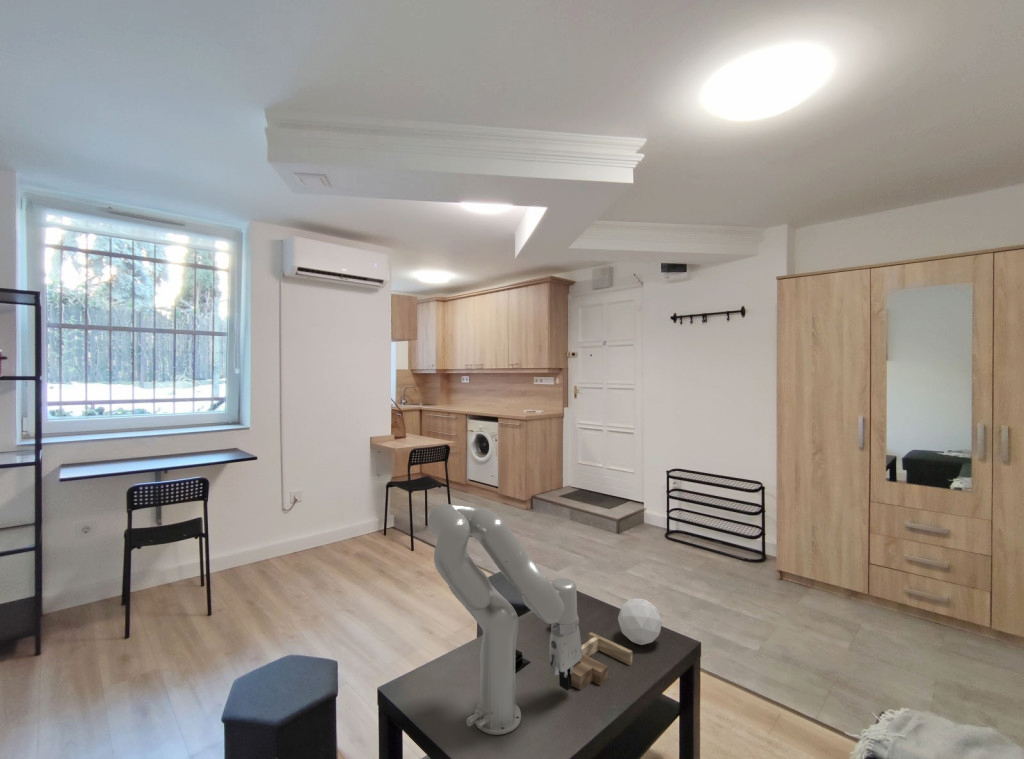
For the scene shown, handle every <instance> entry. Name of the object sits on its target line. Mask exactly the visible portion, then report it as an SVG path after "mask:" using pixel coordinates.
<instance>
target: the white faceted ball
mask: <svg viewBox="0 0 1024 759" xmlns="http://www.w3.org/2000/svg"><path fill="white" fill-rule="evenodd" d="M620 607H621V608H620V610H619V614H618V617H617V620H618V625H619V628H620V631H621V633H622V634H623V635H624V636H625V637H626V638H627V640H628V639H629V640H630V642H632V643H634V644H637V645H639V646H643V645H647V644H651V643H654V642H655V640H656V639H657V638H658V637H659V636H660V634H661V630H662V625H663V622H662V618H661V615H660V613H659V609H658V608H657V607H656V606H655V605H653V603H651V602H650V601H648V599H645V598H641V597H636V598H631V599H628V601H626V602H625V603H624V604H622V605H621V606H620Z"/></svg>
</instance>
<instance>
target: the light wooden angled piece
mask: <svg viewBox="0 0 1024 759" xmlns="http://www.w3.org/2000/svg"><path fill="white" fill-rule="evenodd" d="M581 646H582V654H584V655H586V656H588V657H591V656H592V655H594V654H595V653H596V652H598V651H600V652H601V653H604V654H606V655H608V656H610V657H612V658H614V659H616V660H618V661H620V662H623V663H624V664H626V665H628V666H632V664H633V650H631V649H629V648H627V647H624V646H623V645H621V644H619V643H616V642H614V641H612V640H609V639H607V638H605V637H602V636H601V635H598V634H596V633H594V632H592V631H591V632H589V633H588V641H586V642H585V643H583V644H581Z"/></svg>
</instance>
